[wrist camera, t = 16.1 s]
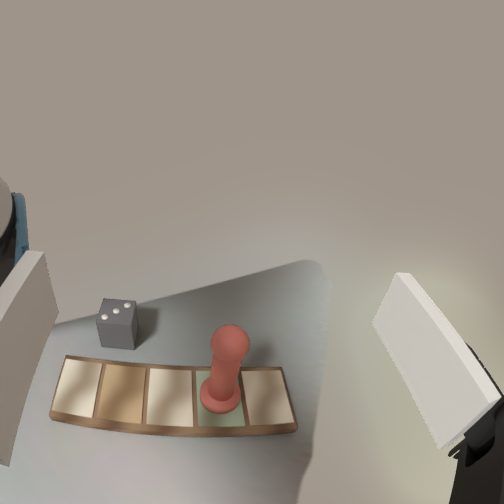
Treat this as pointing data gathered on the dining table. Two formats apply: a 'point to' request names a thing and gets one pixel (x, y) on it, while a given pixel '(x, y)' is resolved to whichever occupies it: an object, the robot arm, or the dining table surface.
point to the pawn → (224, 370)
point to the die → (117, 324)
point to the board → (167, 400)
